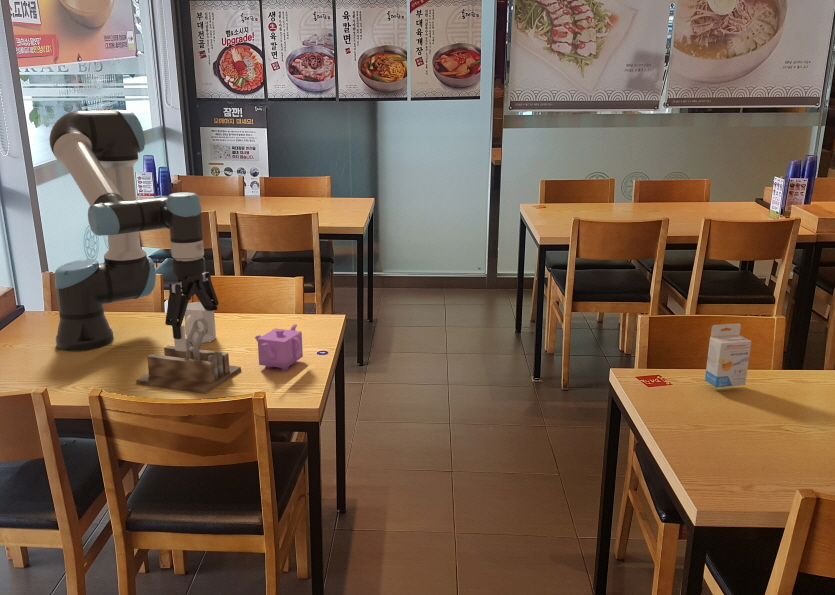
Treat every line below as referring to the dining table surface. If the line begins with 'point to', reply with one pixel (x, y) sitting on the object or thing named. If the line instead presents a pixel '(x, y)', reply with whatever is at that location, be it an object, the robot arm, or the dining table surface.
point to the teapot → (280, 348)
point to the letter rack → (188, 370)
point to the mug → (193, 314)
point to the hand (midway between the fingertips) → (195, 342)
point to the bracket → (198, 341)
